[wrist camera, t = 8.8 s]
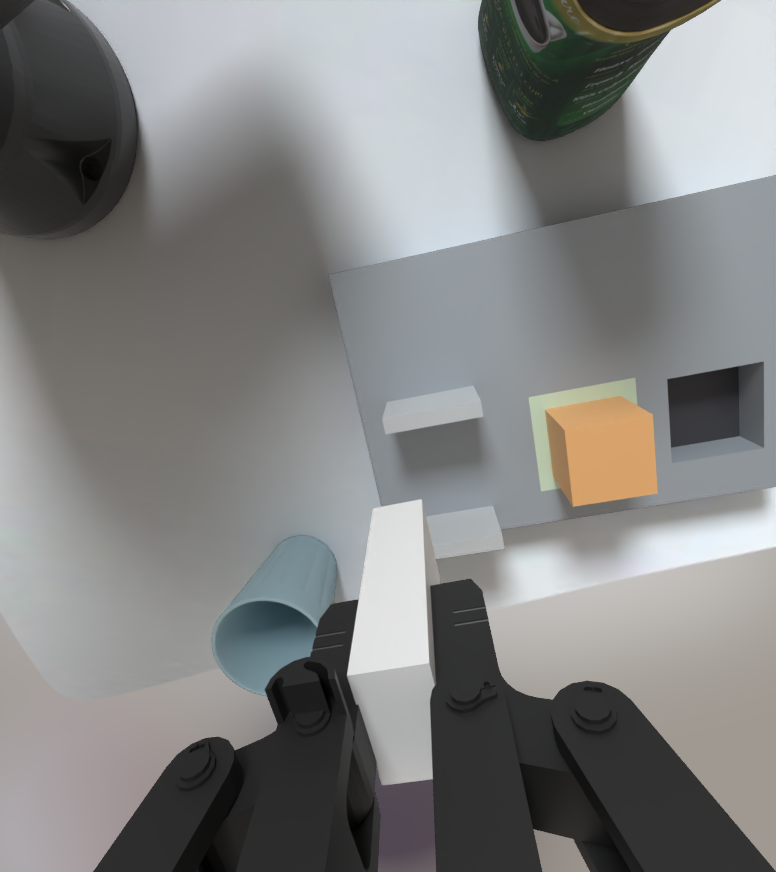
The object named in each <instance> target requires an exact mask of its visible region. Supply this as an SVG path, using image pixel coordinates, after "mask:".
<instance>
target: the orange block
mask: <svg viewBox="0 0 776 872" xmlns="http://www.w3.org/2000/svg"><path fill="white" fill-rule="evenodd" d="M545 415H546V423H547V431H548V439H549V447H550V455H551V464H552V472H553V477H554V479H555V480H556V482H557V483H558V485H559V486H560V488H561V489H562V491H563V492H564V494H565V495H566V497H567V498H568V500H569V501H570V503H571V504H572V506H573V507H575V506H581V505H588V504H594V503H600V502H607V501H613V500H620V499H626V498H633V497H639V496H645V495H652V494H658V489H657V473H656V457H655V441H654V425H653V414H651V413H649V412H648V411H646V410H644V409H642V408H641V407H639V406H637V405H635V404H634V403H632V402H630V401H629V400H627V399H625V398H623V397H622V396H617V397H611V398H606V399H600V400H594V401H589V402H583V403H578V404H572V405H567V406H561V407H555V408H550V409H545Z"/></svg>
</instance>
